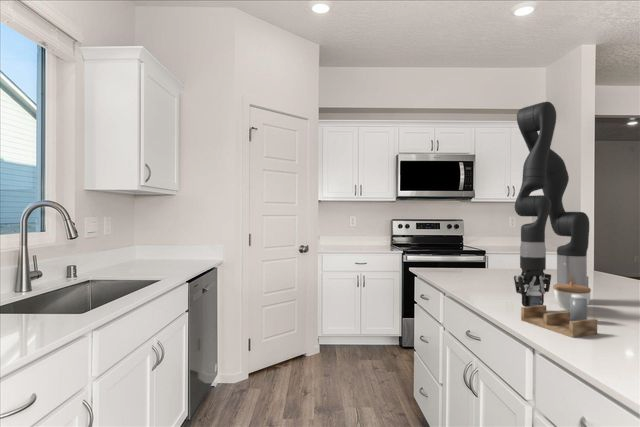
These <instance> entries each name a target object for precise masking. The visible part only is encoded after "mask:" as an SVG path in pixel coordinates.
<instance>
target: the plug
mask: <svg viewBox="0 0 640 427" xmlns="http://www.w3.org/2000/svg"><path fill="white" fill-rule="evenodd" d="M569 312H570V321H578V320H586V319H588V305H587V299H586V296H585V295H581V294H571V297H570V311H569Z"/></svg>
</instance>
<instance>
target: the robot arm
mask: <svg viewBox="0 0 640 427" xmlns="http://www.w3.org/2000/svg"><path fill="white" fill-rule="evenodd" d="M516 122H517V125H518V129H519V131H520V134H521V136H522V138H523V140H524V142H525V144H526V147H527V149H528V152H529V153H528V155H527V156H526V158H525V161H524V164H523V169H522V182H521V186H520V189H519V192H518V194H517V197H516V200H515V203H514V211H515V212H516V215H518V217H519V216H520V217H537V219H536V220H535V221H534V222H528V223H524V224H522V225H521V226H520V246H519V268H520V269H521V274H520V275H514V276H513V280H514V281H513V282H514V286H515V292H516V293H517V294H520V295H521V304H522V307H524V306H525V307H529V293H530V290H531V289H532V288H533V286H535V285H539V286H540V290H539V292H541V293H542V305H544V301H545V300H544V299H545V294H546V293H549V291H550V287H551V281H552V274H549V273H545V271H546V268H547V266H546V263H547V262H546V261H547V260H546V259H547V258H546V257H547V256H546V254H547V252H546V251H547V249H546V242H545V241H546V226H547V220H548V218H549V221H550V225H551V228H552V231H553V233H555V235H557V236H558V237H559V236H560V237H570V241H569V242H567V243H566V244H564V245H559V246H558V247H557V248H556V284H570V282H573V284H574V285H581V286H586V287H589V276H588V274H587V273H588V272H587V271H588V270H587V269H588V267H587V266H588V265H587V264H588V263H587V262H588V260H587V258H588V257H587V255H588V249H589V239H590V238H589V237H590V218H589V216H588V214H587V213H586V212H583V211H565V208H564V204H563V196H564V194H565V191H566V189H567V187H568V184H569V182H570V181H569V179H570V177H569V176H570V175H569V173H568V169H567V166H566V164H565V161H564V159H563V158H562V157H561V156H560V155H559V154H558V153H556V152H555V151H554V150H553V149H552V148H551V147H552V146H551V145H552V140H553V138H554V132H555V128H556V125H557V124H556V122H557V111H556V107H555V105H554V104H553V103H552V102H550V101H543V102H542V101H541V102H539V103H534V104H532V105H527V106H524V107H522V108H520V109H518V111H517V113H516ZM540 190H542V194H541V195H540V194H537V195H530V194H531V193H533V192H535V191H540ZM526 285H529V286H526ZM526 288H527V289H526Z"/></svg>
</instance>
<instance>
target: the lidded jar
mask: <svg viewBox="0 0 640 427" xmlns="http://www.w3.org/2000/svg"><path fill="white" fill-rule="evenodd" d="M552 288H553V297H554V301H555V302H556V304H557V306H559V307H560V309H561V310H562V311H568V312H570V297H571V294H581V295H585V296H586V299H587V306H588V305H589V303H590V301H591V300H590V299H591V292H592V289H591V288H590V287H589V286H588V287H586V286H581V285H574V284H573V282H570V284H557V283H556V284H553V286H552Z"/></svg>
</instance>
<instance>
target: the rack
mask: <svg viewBox="0 0 640 427" xmlns="http://www.w3.org/2000/svg"><path fill="white" fill-rule="evenodd" d="M520 310H521V312H520V318H521V321H522V322H526V323H528V324H532V325H535V326H537V327H541V328H543V329H546V330H549V331H552V332H555V333H559V334H561V335H564V336H567V337H570V338H578V337H585V336H593V335H598V319H596V318H589V319H588V318H587V319H586V320H578V321H570V311H567V310H564V311H557V312H548V313H547V305H546V304H543V305H538V306H529V307H524V306H522V307H521V308H520Z"/></svg>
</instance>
